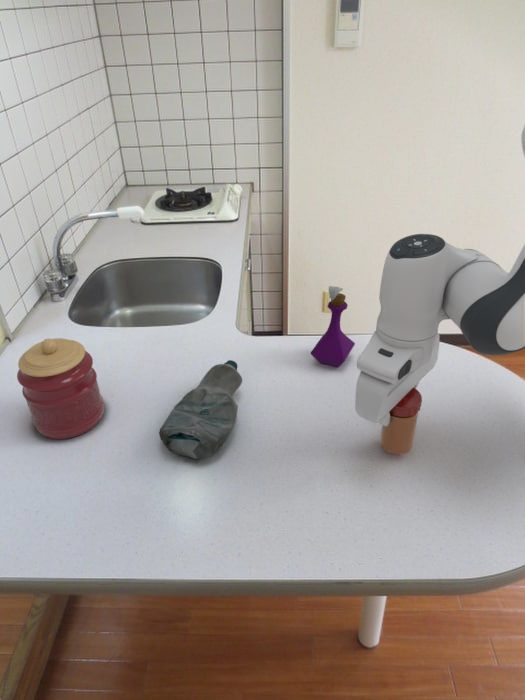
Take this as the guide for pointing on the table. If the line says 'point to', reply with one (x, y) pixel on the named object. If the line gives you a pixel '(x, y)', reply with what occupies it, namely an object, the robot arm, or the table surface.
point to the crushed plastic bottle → (204, 414)
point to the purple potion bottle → (334, 334)
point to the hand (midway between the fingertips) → (395, 411)
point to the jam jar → (399, 434)
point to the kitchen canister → (60, 388)
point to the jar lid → (408, 404)
